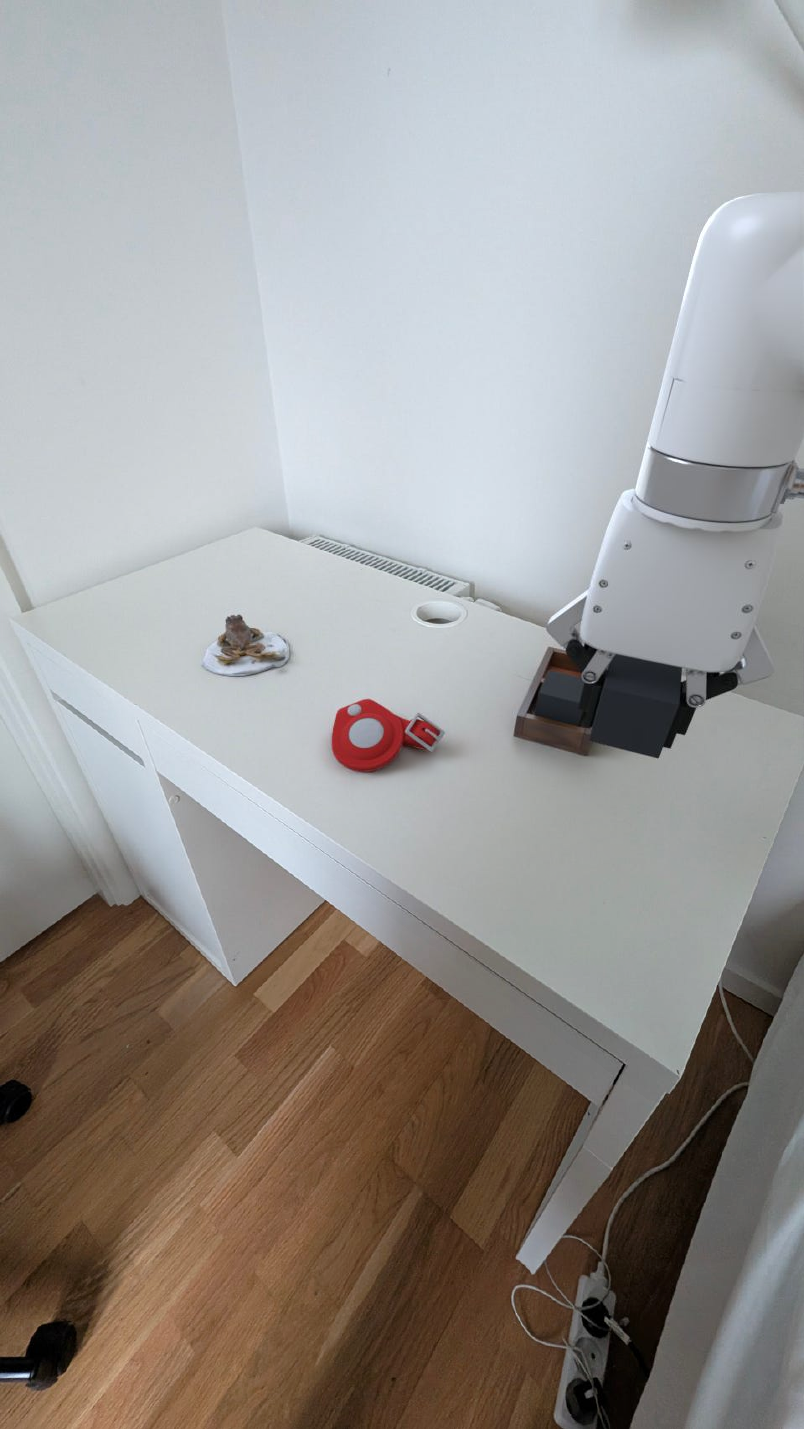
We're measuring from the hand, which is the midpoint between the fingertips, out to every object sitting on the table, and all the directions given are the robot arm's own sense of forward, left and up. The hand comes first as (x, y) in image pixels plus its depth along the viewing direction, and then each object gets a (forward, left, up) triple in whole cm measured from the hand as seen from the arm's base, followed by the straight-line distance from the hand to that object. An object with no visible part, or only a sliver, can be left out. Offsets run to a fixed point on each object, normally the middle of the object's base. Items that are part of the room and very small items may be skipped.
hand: (627, 725), depth 44 cm
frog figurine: (+49, -15, -16) cm, 54 cm away
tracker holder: (+23, -5, -16) cm, 29 cm away
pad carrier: (+6, -21, -15) cm, 27 cm away
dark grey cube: (+6, -17, -15) cm, 24 cm away
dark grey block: (0, 0, 0) cm, 0 cm away
